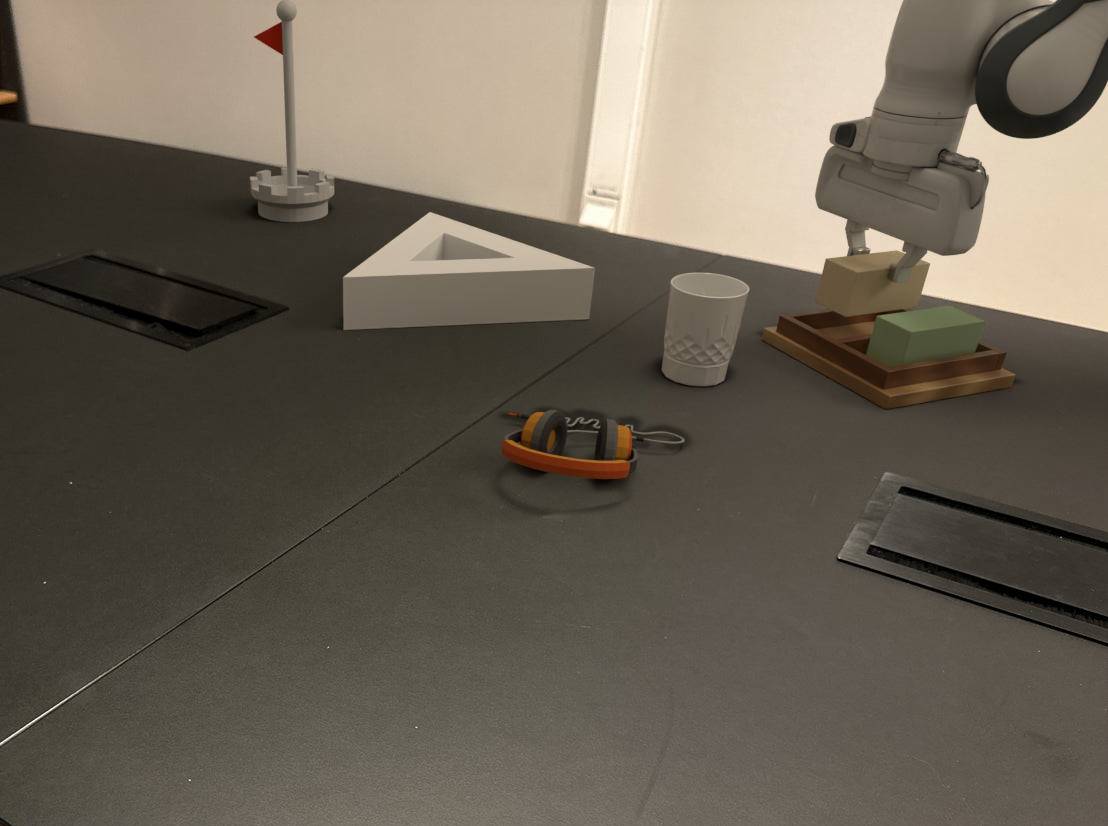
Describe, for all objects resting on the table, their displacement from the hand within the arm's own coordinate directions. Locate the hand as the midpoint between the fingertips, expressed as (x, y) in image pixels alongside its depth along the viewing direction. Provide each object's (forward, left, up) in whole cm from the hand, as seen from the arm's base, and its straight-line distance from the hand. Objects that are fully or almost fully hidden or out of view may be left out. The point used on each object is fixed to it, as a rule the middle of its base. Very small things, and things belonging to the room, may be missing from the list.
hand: (875, 272), depth 115 cm
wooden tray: (0, +4, -9) cm, 10 cm away
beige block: (0, 0, -4) cm, 4 cm away
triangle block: (+34, -27, -9) cm, 44 cm away
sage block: (-1, +8, -8) cm, 11 cm away
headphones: (+44, +14, -9) cm, 47 cm away
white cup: (+22, 0, -9) cm, 24 cm away
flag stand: (+45, -75, -9) cm, 88 cm away
